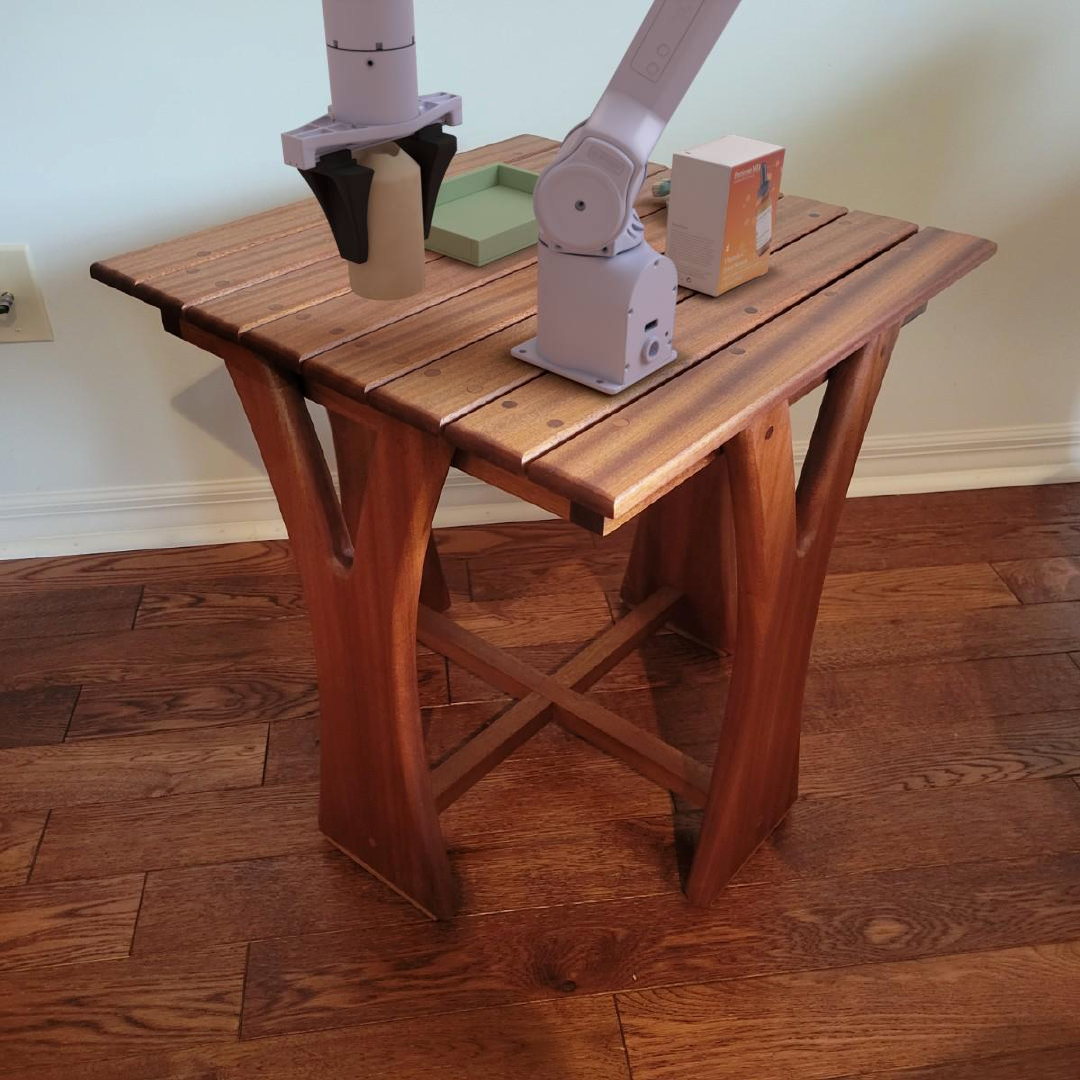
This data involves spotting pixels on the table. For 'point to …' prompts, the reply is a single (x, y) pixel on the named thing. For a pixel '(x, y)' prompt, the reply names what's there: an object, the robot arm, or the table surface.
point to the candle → (391, 227)
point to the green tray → (484, 214)
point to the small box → (723, 212)
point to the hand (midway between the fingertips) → (386, 247)
